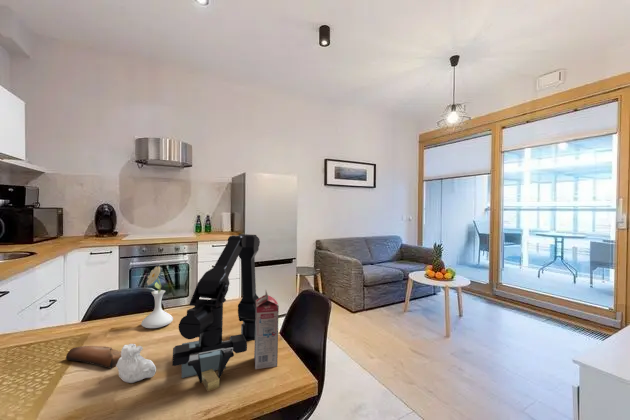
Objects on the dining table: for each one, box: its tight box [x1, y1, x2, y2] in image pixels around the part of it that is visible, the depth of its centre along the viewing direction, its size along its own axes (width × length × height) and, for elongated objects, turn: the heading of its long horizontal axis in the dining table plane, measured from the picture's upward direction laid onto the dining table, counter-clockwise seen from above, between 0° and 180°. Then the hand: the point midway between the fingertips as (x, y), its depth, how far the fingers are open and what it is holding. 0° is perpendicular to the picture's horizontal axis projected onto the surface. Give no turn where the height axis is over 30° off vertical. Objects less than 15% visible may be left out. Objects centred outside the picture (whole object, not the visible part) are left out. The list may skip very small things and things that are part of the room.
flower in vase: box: [140, 265, 174, 329], centre depth 111 cm, size 13×11×25 cm
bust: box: [115, 343, 157, 384], centre depth 75 cm, size 12×8×11 cm
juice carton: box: [253, 290, 279, 370], centre depth 85 cm, size 7×7×22 cm
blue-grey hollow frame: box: [181, 340, 227, 379], centre depth 84 cm, size 12×12×4 cm
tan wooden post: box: [201, 369, 220, 393], centre depth 74 cm, size 3×6×2 cm, turn 38°
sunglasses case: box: [65, 345, 122, 369], centre depth 85 cm, size 18×7×7 cm, turn 76°
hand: (210, 379), depth 74 cm, fingers open, 4 cm apart
